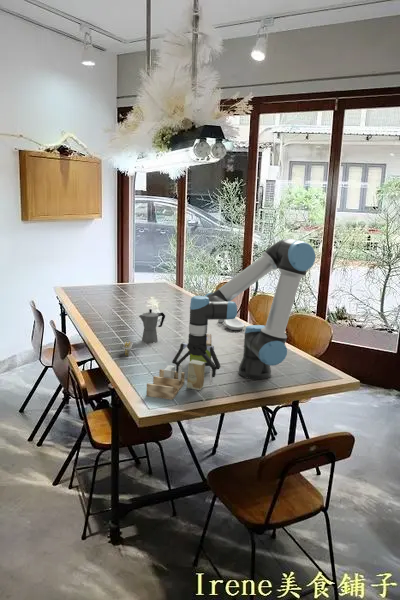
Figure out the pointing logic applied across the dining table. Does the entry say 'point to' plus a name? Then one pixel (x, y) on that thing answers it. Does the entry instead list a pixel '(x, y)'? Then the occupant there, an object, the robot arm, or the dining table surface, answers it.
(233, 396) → the dining table surface
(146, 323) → the coffeepot
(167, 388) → the oak rack
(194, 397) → the dining table surface
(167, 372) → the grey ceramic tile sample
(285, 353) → the robot arm
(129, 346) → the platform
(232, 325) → the spoon rest
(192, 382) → the skincare box
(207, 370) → the tea box
